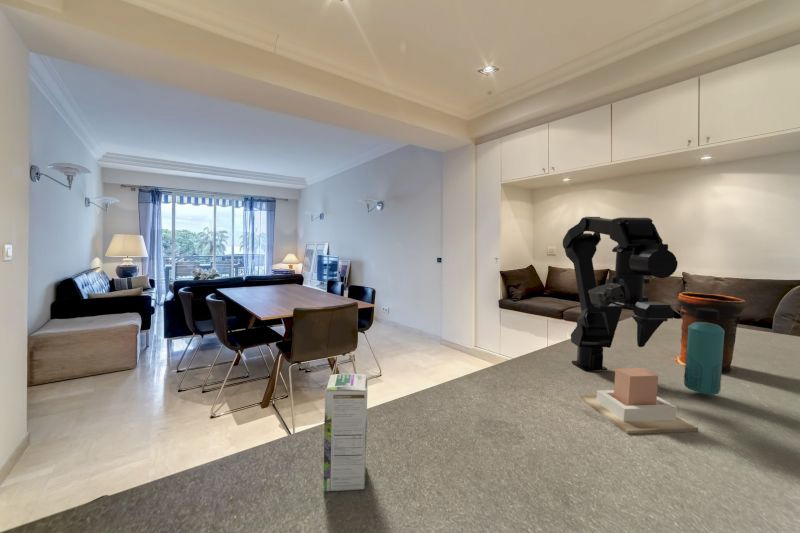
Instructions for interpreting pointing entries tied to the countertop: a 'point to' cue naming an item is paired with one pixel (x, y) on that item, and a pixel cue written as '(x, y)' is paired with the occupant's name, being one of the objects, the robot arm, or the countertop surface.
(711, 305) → the vessel
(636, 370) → the terracotta peg
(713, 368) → the beverage bottle
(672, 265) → the robot arm
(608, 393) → the socket collar
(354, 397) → the syrup box
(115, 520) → the countertop surface
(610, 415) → the socket base
